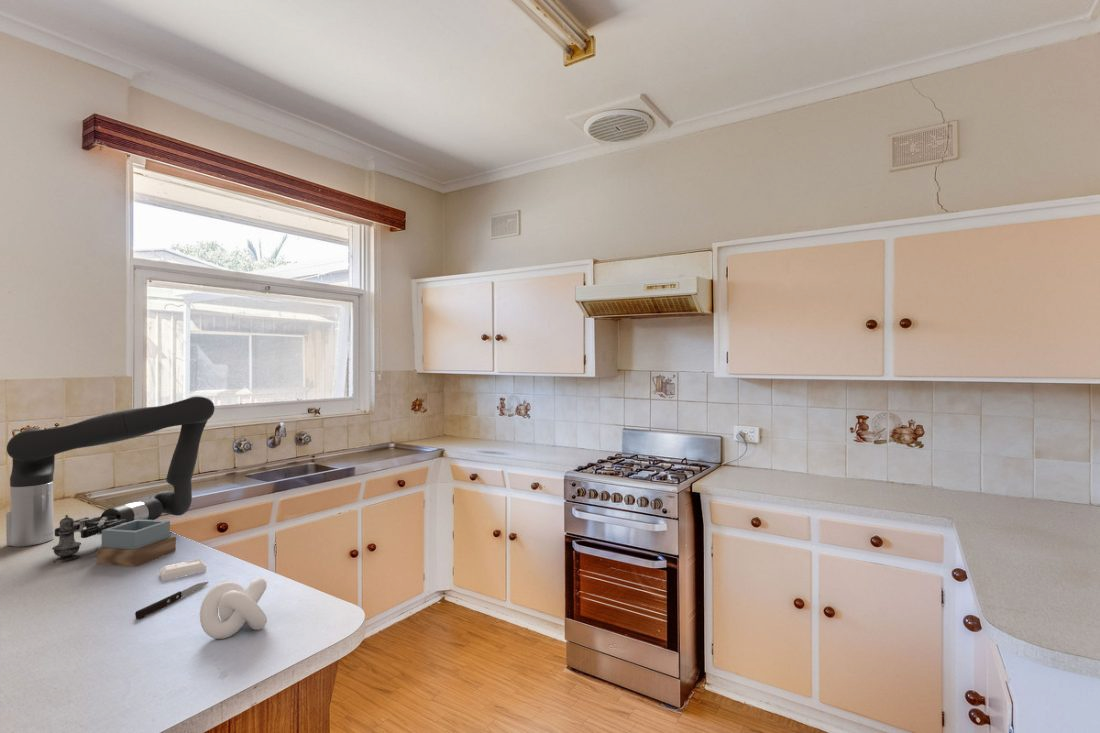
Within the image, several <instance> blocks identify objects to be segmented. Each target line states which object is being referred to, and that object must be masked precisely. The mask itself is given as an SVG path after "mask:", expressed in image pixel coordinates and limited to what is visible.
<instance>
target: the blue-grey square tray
mask: <svg viewBox="0 0 1100 733" xmlns="http://www.w3.org/2000/svg"><path fill="white" fill-rule="evenodd" d="M170 536H171V522H170V520H162V519H161V520H160V519H159V520H157V519H155V520H143V519H137V520H134V521H131V522H127V523H124V524H121V525H118V526H114V527H111V528H108V529H104V530H102V534H101V547H103V548H118V549H133V550H136V549H138V548H141V547H144V546H147V545H150V544H152V543H155V542H158V541H161V540H163V539H166V538H169V537H170Z"/></svg>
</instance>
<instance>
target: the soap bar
mask: <svg viewBox="0 0 1100 733" xmlns="http://www.w3.org/2000/svg"><path fill="white" fill-rule="evenodd" d="M205 571H206V572H207V565H206V563H205V561H203V560H202V559H200V558H197V559H191V560H187V561H183V562H177V563H173V564H169V565H164V566H163V567H161V568H160V570H159V576H160V578H161V581H162V582H165V580H166V581H170V580H169V579H171V580H174V578H175V579H177V578H176V577H180V578H182V577H181V576H184V577H186V576H185V575H189V576H191V575H190V574H193V575H195V574H194V573H198V574H201V573H200V572H202V573H206V572H205Z"/></svg>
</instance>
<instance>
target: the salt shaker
mask: <svg viewBox="0 0 1100 733" xmlns="http://www.w3.org/2000/svg"><path fill="white" fill-rule="evenodd" d="M74 521H75V519H73V518H72V517H69V514H66V515H64V518H62V519H60V520H59V527H60V532H58V534H59V538H58V543H57V545H54V546H53V547H51V550H52V551H53V554H54V555H56V556H57V557H56V558H55V559H54V560H53V563H56V562H61V563H67V562H73V561H75V560H78V559H80V558H81V556H80V555H78V554H77V552H79V550H80V547H81V545H82V543H81V542H79V541H76V540H75V533H76V532H75V531H76V530H74Z"/></svg>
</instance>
